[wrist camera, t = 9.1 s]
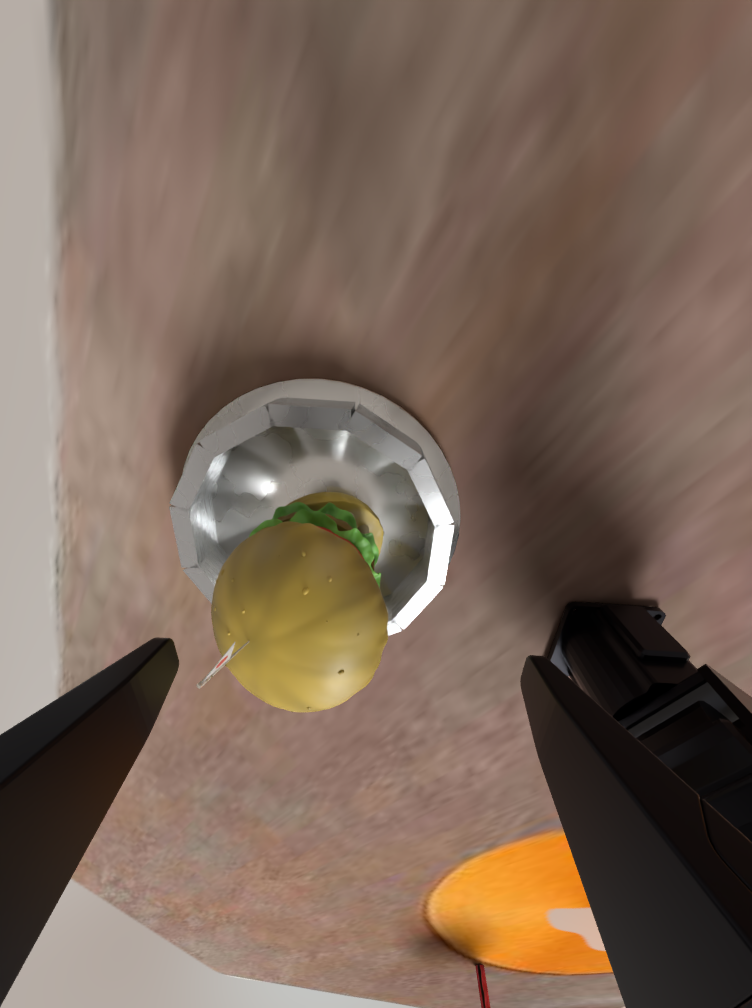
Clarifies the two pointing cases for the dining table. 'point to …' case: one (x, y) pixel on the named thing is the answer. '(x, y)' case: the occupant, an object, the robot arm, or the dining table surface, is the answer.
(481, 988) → the lantern
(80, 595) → the dining table surface
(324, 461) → the collar
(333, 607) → the hamburger
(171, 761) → the dining table surface
